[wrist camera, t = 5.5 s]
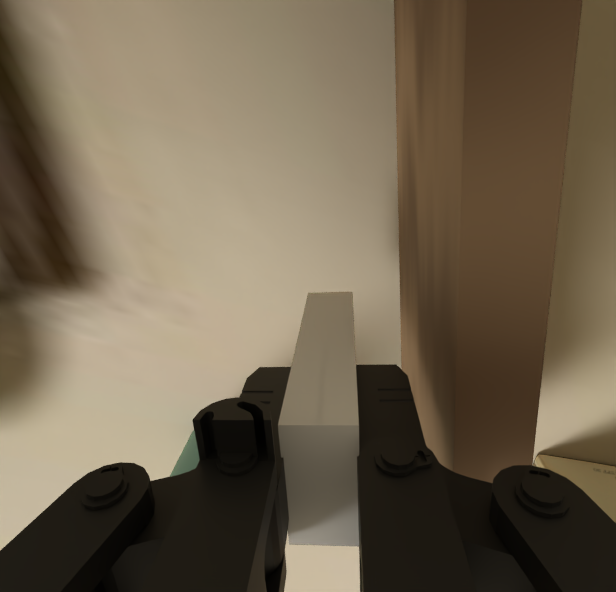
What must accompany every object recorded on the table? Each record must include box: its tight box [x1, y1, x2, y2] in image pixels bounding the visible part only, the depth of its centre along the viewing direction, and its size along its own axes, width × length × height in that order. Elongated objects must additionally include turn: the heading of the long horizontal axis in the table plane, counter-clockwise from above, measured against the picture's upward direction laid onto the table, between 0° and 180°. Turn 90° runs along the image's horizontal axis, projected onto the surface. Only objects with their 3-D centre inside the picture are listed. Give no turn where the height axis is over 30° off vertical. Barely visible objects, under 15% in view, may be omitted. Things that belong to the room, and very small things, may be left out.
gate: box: [394, 0, 582, 483], centre depth 11 cm, size 22×2×13 cm, turn 5°
